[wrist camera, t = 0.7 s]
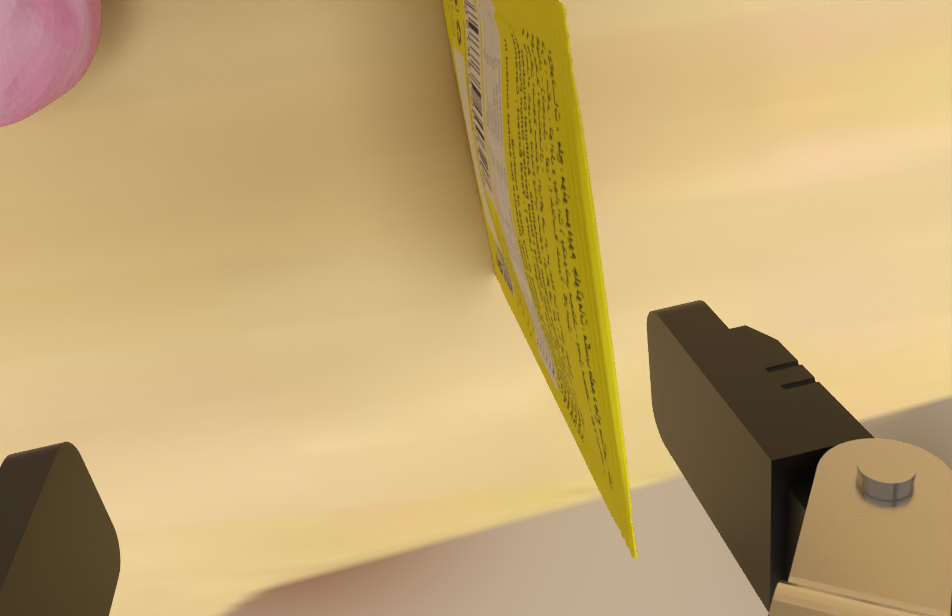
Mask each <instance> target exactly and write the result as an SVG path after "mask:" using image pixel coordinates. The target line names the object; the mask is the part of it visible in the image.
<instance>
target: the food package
mask: <svg viewBox="0 0 952 616" xmlns="http://www.w3.org/2000/svg"><path fill="white" fill-rule="evenodd" d="M442 2H443V8H444V14H445V20H446V26H447V32H448V37H449V43H450V48H451V53H452V59H453V64H454V69H455V74H456V80H457V85H458V90H459V95H460V100H461V105H462V110H463V115H464V121H465V126H466V131H467V136H468V141H469V146H470V151H471V157H472V162H473V167H474V172H475V177H476V182H477V187H478V192H479V196H480V201H481V206H482V211H483V215H484V220H485V224H486V228H487V233H488V237H489V243H490V250H491V253H492V259H493V264H494V269H495V276H496V277H497V279H498V281H499V283H500V285H501V288H502V290H503V293H504V295H505V297H506V299H507V301H508V303H509V305H510V307H511V309H512V311H513V313H514V315H515V318H516V320H517V322H518V324H519V326H520V328H521V330H522V332H523V334H524V336H525V338H526V340H527V342H528V344H529V346H530V348H531V350H532V352H533V354H534V356H535V358H536V361H537V363H538V365H539V367H540V369H541V371H542V373H543V375H544V377H545V379H546V381H547V383H548V385H549V387H550V389H551V391H552V393H553V395H554V398H555V400H556V402H557V404H558V406H559V408H560V410H561V412H562V414H563V416H564V418H565V420H566V422H567V424H568V426H569V428H570V430H571V433H572V435H573V437H574V439H575V441H576V443H577V445H578V447H579V449H580V451H581V453H582V455H583V457H584V459H585V462H586V464H587V466H588V468H589V470H590V472H591V474H592V476H593V478H594V480H595V482H596V484H597V487H598V489H599V491H600V493H601V495H602V497H603V499H604V501H605V503H606V505H607V507H608V509H609V511H610V513H611V515H612V517H613V518H614V520H615V522H616V524H617V526H618V527H619V529H620V530H621V533H622V536H623V538H624V539H625V540H626V544H627V546H628V548H629V549H630V551H631V555H632V557H633V558H636V557H637V551H636V548H635V538H634V535H633V529H634V528H633V524H632V511H631V498H630V489H629V480H628V471H627V462H626V453H625V444H624V436H623V428H622V420H621V412H620V403H619V395H618V387H617V379H616V371H615V362H614V354H613V346H612V339H611V331H610V323H609V316H608V308H607V300H606V293H605V286H604V278H603V271H602V263H601V256H600V249H599V241H598V234H597V227H596V219H595V212H594V204H593V197H592V190H591V183H590V176H589V169H588V162H587V155H586V148H585V141H584V134H583V127H582V121H581V115H580V109H579V103H578V97H577V91H576V86H575V81H574V77H573V72H572V57H571V54H570V48H569V34H568V30H567V26H566V10H565V7H564V5H563V4H562V3H561V2H559V1H558V0H442Z"/></svg>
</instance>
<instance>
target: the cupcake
mask: <svg viewBox="0 0 952 616" xmlns="http://www.w3.org/2000/svg"><path fill="white" fill-rule="evenodd" d="M101 25H102V16H101V0H0V127H2V126H6V125H9V124H13V123H15V122H18V121H20V120H23V119H25V118H27V117H29V116H30V115H32V114H34V113H35V112H37V111H39V110H40V109H42V108H44V107H45V106H47V105H48V104H50V103H51V102H53V101H54V100H56V99H57V98H59V97H60V96H62V95H63V94H65V93H66V92H67V91H69V90H70V89H71V88H72V87H74V85H75V84H76V83H77V82H78V81H79V80H80V79H81V78H82V76H83V75H84V73H85V72H86V70H87V68H88V67H89V65H90V63H91V61H92V59H93V56H94V53H95V51H96V48H97V45H98V42H99V38H100V32H101Z"/></svg>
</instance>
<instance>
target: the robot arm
mask: <svg viewBox="0 0 952 616" xmlns="http://www.w3.org/2000/svg"><path fill="white" fill-rule="evenodd" d="M647 337H648V352H649V366H650V381H651V396H652V406H653V412H654V417H655V421H656V424H657V428H658V430H659V433H660V436H661V438H662V440H663V443H664V444H665V446H666V448H667V449H668V451H669V453H670V454H671V456H672V457H673V459H674V461H675V462H676V464H677V466H678V467H679V469H680V470H681V472H682V474H683V475H684V477H685V478H686V480H687V482H688V483H689V485H690V486H691V488H692V490H693V491H694V493H695V495H696V496H697V498H698V499H699V501H700V503H701V504H702V506H703V507H704V509H705V510H706V512H707V514H708V516H709V517H710V518H711V520H712V522H713V524H714V525H715V527H716V528H717V530H718V532H719V533H720V535H721V536H722V538H723V540H724V541H725V543H726V545H727V546H728V548H729V549H730V551H731V553H732V554H733V556H734V557H735V559H736V561H737V562H738V564H739V565H740V567H741V569H742V570H743V572H744V573H745V575H746V577H747V578H748V580H749V581H750V583H751V585H752V586H753V588H754V590H755V591H756V593H757V595H758V596H759V598H760V599H761V601H762V603H763V604H764V606H765V607H766V609H767V611H768V612H769V614H768V616H952V472H951V470H950V469H949V468H948V466H946V464H945V463H943V461H941V460H940V459H939V458H937V457H936V456H935V455H933V454H931V453H929V452H927V451H925V450H924V449H921V448H919V447H916V446H914V445H911V444H907V443H904V442H900V441H896V440H890V439H880V438H874V437H873V436H872V435H871V434H870V433H869V432H868V431H867V430H866V429H865V428H864V427H863V426H862V425H861V424H860V423H859V422H858V421H857V420H856V419H855V418H854V417H853V416H852V415H851V414H850V413H849V412H848V411H847V410H846V409H845V408H844V407H843V406H842V405H841V404H840V403H839V402H838V401H837V400H836V399H835V398H834V397H833V396H832V395H831V394H830V393H829V392H828V391H827V390H826V389H825V388H824V387H823V386H822V385H821V384H820V383H819V382H815V378H814V376H813V375H812V374H811V373H810V372H809V371H808V370H807V369H806V368H805V367H804V366H803V365H799V364H798V360H797V359H796V358H795V357H794V356H793V355H792V354H791V353H790V352H789V351H788V350H787V349H786V348H785V347H784V346H783V345H782V344H781V343H780V342H779V341H778V340H776V339H774V338H772V337H770V336H768V335H766V334H763V333H761V332H759V331H757V330H755V329H753V328H750V327H748V326H746V325H745V326H741V327H736V328H732V329H729V328H728V327H727V326H726V325H725V324H724V323H723V322H722V321H721V319H720V318H719V317H718V316H717V315H716V314H715V313H714V312H713V311H712V310H711V308H710V307H709V306H708V305H707V304H706V303H705V302H703V301H701V300H698V301H694V302H690V303H685V304H681V305H676V306H672V307H668V308H663V309H659V310H654V311H651V312H649V314H648V317H647ZM119 572H120V549H119V543H118V538H117V535H116V531H115V529H114V526H113V524H112V522H111V520H110V517H109V515H108V513H107V511H106V509H105V507H104V504H103V502H102V500H101V498H100V496H99V494H98V491H97V489H96V487H95V485H94V483H93V481H92V479H91V476H90V474H89V472H88V470H87V468H86V466H85V463H84V461H83V459H82V457H81V455H80V453H79V451H78V450H77V448H76V447H75V446H74V445H73V444H71V443H69V442H63V443H59V444H54V445H50V446H45V447H41V448H37V449H32V450H28V451H23V452H19V453H14V454H10V455H8V456H7V457H6V458H5V460H4V461H3V463H2V465H1V467H0V616H109V613H110V609H111V605H112V601H113V597H114V593H115V589H116V585H117V581H118V577H119Z"/></svg>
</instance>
